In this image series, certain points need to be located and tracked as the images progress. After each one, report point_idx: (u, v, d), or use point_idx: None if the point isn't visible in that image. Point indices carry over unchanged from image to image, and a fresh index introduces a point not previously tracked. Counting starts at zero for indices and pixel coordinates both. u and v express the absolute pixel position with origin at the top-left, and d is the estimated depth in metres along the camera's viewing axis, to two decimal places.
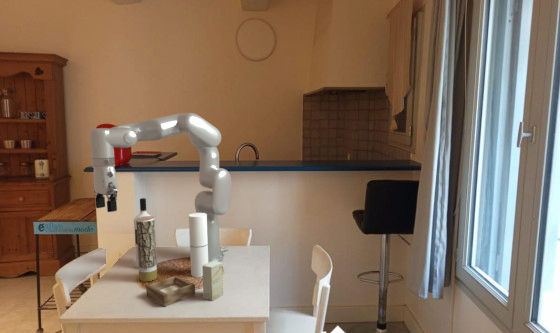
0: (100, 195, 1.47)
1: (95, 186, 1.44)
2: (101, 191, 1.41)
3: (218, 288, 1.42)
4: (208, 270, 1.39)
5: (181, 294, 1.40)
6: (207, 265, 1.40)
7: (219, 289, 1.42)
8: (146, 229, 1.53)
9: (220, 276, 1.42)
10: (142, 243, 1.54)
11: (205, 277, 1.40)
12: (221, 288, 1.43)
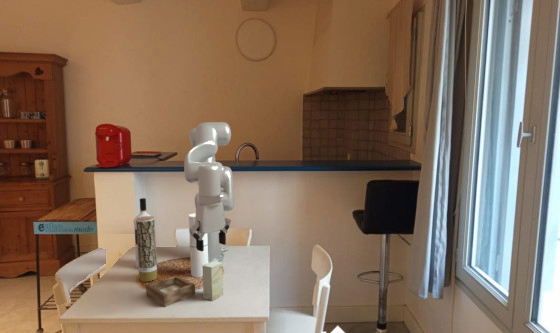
0: None
1: (208, 226, 1.36)
2: (220, 227, 1.40)
3: (218, 288, 1.42)
4: (208, 270, 1.39)
5: (181, 294, 1.40)
6: (207, 265, 1.40)
7: (219, 289, 1.42)
8: (146, 229, 1.53)
9: (220, 276, 1.42)
10: (142, 243, 1.54)
11: (205, 277, 1.40)
12: (221, 288, 1.43)
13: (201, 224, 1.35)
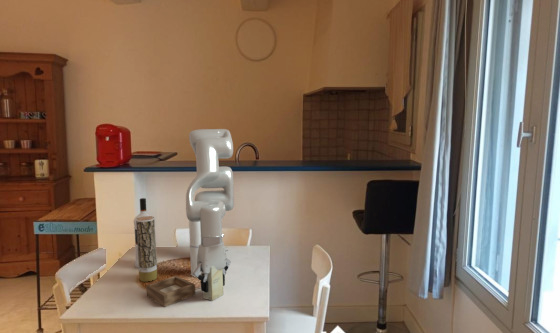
0: None
1: (210, 266, 1.38)
2: (221, 266, 1.42)
3: (218, 288, 1.42)
4: None
5: (181, 294, 1.40)
6: None
7: (219, 289, 1.42)
8: (146, 229, 1.53)
9: (220, 276, 1.42)
10: (142, 243, 1.54)
11: None
12: (221, 288, 1.43)
13: (203, 267, 1.37)
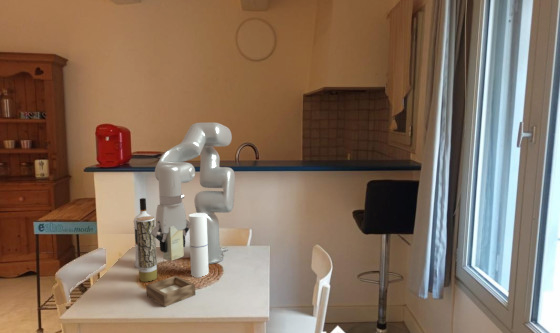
0: None
1: (168, 226, 1.37)
2: (181, 227, 1.41)
3: (178, 249, 1.41)
4: None
5: (181, 294, 1.40)
6: None
7: (179, 250, 1.42)
8: (146, 229, 1.53)
9: (180, 237, 1.42)
10: (142, 243, 1.54)
11: None
12: (181, 249, 1.42)
13: (161, 227, 1.36)
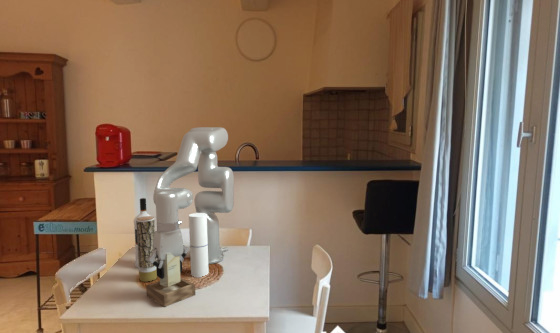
0: None
1: (165, 253, 1.38)
2: (178, 253, 1.42)
3: (175, 275, 1.42)
4: None
5: (181, 294, 1.40)
6: None
7: (176, 276, 1.43)
8: (146, 229, 1.53)
9: (177, 263, 1.43)
10: (142, 243, 1.54)
11: None
12: (178, 275, 1.43)
13: (158, 253, 1.37)
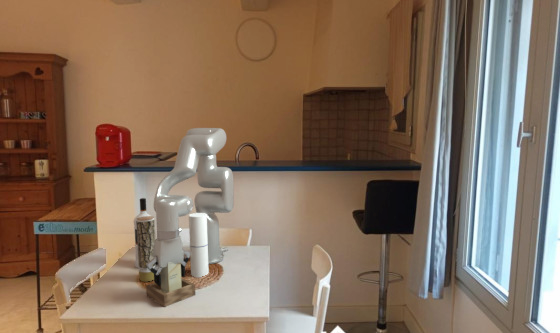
0: None
1: (165, 260, 1.39)
2: (178, 260, 1.43)
3: (176, 284, 1.43)
4: None
5: (181, 294, 1.40)
6: None
7: (177, 285, 1.43)
8: (146, 229, 1.53)
9: (178, 272, 1.43)
10: (142, 243, 1.54)
11: (162, 273, 1.41)
12: (179, 284, 1.44)
13: (158, 259, 1.38)
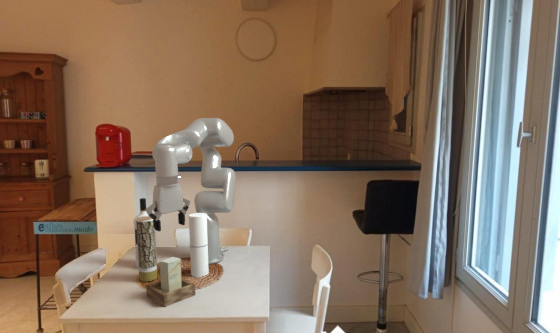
0: None
1: (165, 206, 1.38)
2: (178, 207, 1.42)
3: (176, 284, 1.43)
4: (165, 266, 1.40)
5: (181, 294, 1.40)
6: (164, 261, 1.41)
7: (177, 285, 1.43)
8: (146, 229, 1.53)
9: (178, 272, 1.43)
10: (142, 243, 1.54)
11: (162, 273, 1.41)
12: (179, 284, 1.44)
13: (158, 204, 1.37)
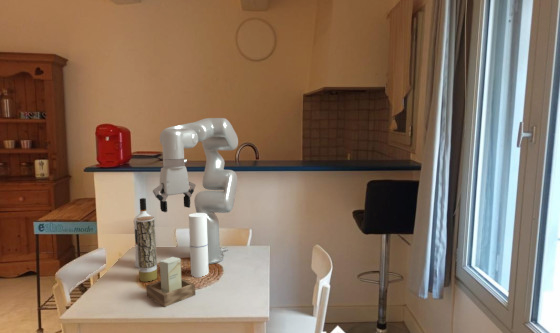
0: None
1: (171, 188, 1.43)
2: (183, 190, 1.47)
3: (176, 284, 1.43)
4: (165, 266, 1.40)
5: (181, 294, 1.40)
6: (164, 261, 1.41)
7: (177, 285, 1.43)
8: (146, 229, 1.53)
9: (178, 272, 1.43)
10: (142, 243, 1.54)
11: (162, 273, 1.41)
12: (179, 284, 1.44)
13: (164, 186, 1.42)
